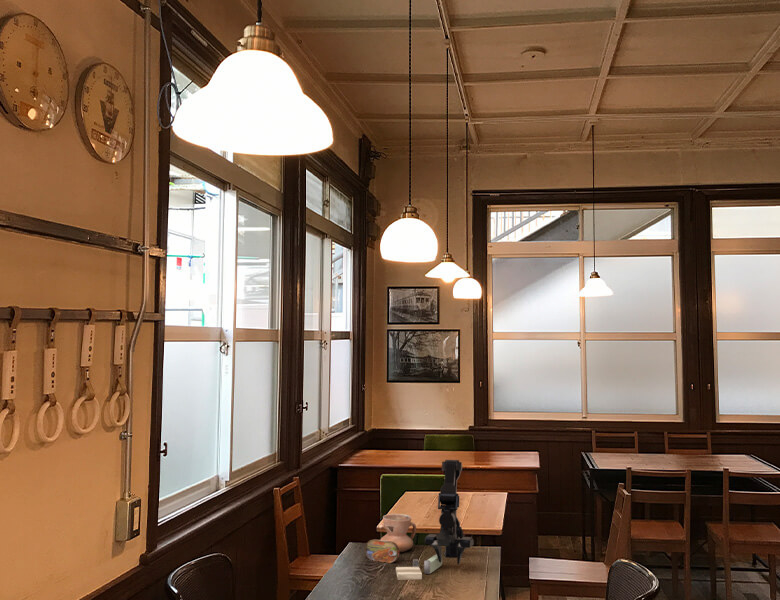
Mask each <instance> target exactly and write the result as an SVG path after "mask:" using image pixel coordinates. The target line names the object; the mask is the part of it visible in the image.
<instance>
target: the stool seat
mask: <svg viewBox="0 0 780 600" xmlns="http://www.w3.org/2000/svg"><path fill="white" fill-rule="evenodd" d="M395 574H396V578H397V580H398V581H403V580H405V581H407V580H410V581H411V580H423V573H422V571H421V568H420V566H419V567H413V566H396V567H395Z"/></svg>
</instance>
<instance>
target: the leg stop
mask: <svg viewBox="0 0 780 600" xmlns="http://www.w3.org/2000/svg"><path fill="white" fill-rule="evenodd" d="M419 564H420V562H419V559H418V558H415V559H414V558H413V559H412V567H419V568H420V565H419Z"/></svg>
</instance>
